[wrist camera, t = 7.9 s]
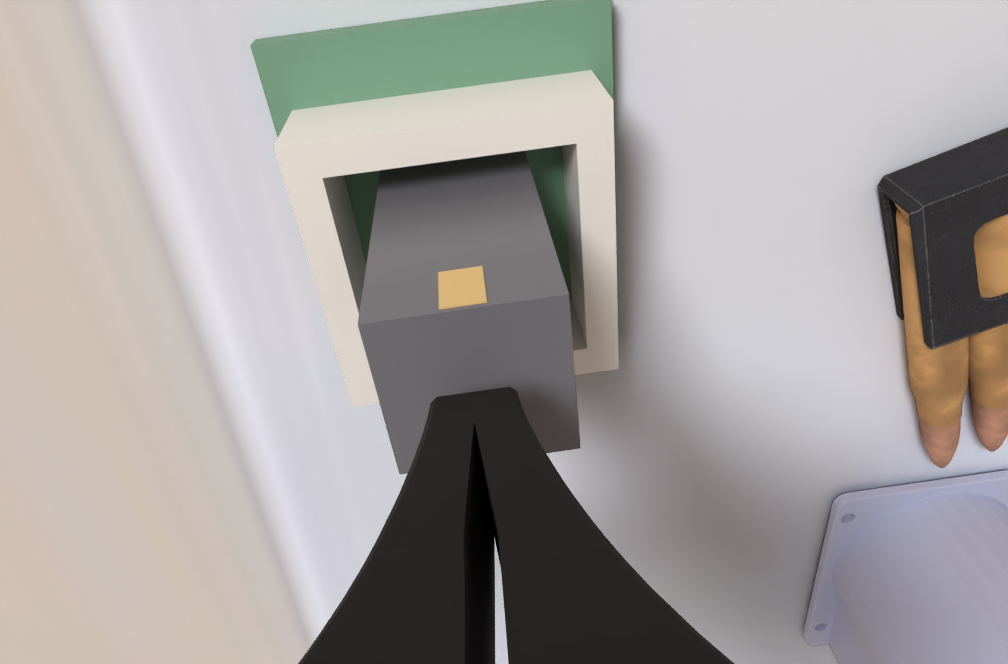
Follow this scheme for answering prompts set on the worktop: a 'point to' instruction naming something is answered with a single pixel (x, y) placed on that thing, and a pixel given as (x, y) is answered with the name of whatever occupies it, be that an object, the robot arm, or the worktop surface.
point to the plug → (466, 298)
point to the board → (450, 143)
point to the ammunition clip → (953, 287)
